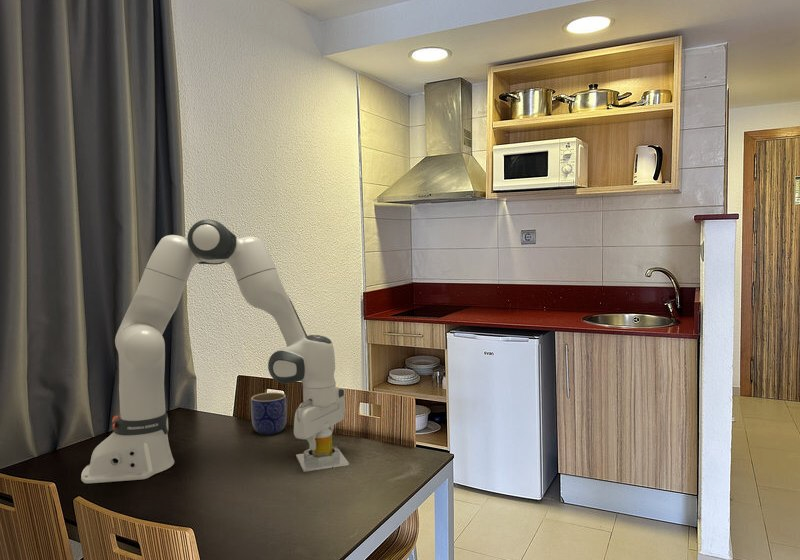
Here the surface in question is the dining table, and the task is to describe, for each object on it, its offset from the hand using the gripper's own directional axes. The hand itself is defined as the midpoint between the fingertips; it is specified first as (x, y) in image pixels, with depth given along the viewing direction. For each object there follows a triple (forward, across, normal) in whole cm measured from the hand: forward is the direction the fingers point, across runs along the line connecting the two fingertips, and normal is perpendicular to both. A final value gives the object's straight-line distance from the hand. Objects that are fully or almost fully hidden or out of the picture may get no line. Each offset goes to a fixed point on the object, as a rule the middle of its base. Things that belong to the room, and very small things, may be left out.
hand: (320, 445), depth 164 cm
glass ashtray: (+4, -1, -1) cm, 4 cm away
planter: (+4, +15, +29) cm, 33 cm away
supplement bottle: (+4, 0, 0) cm, 4 cm away
